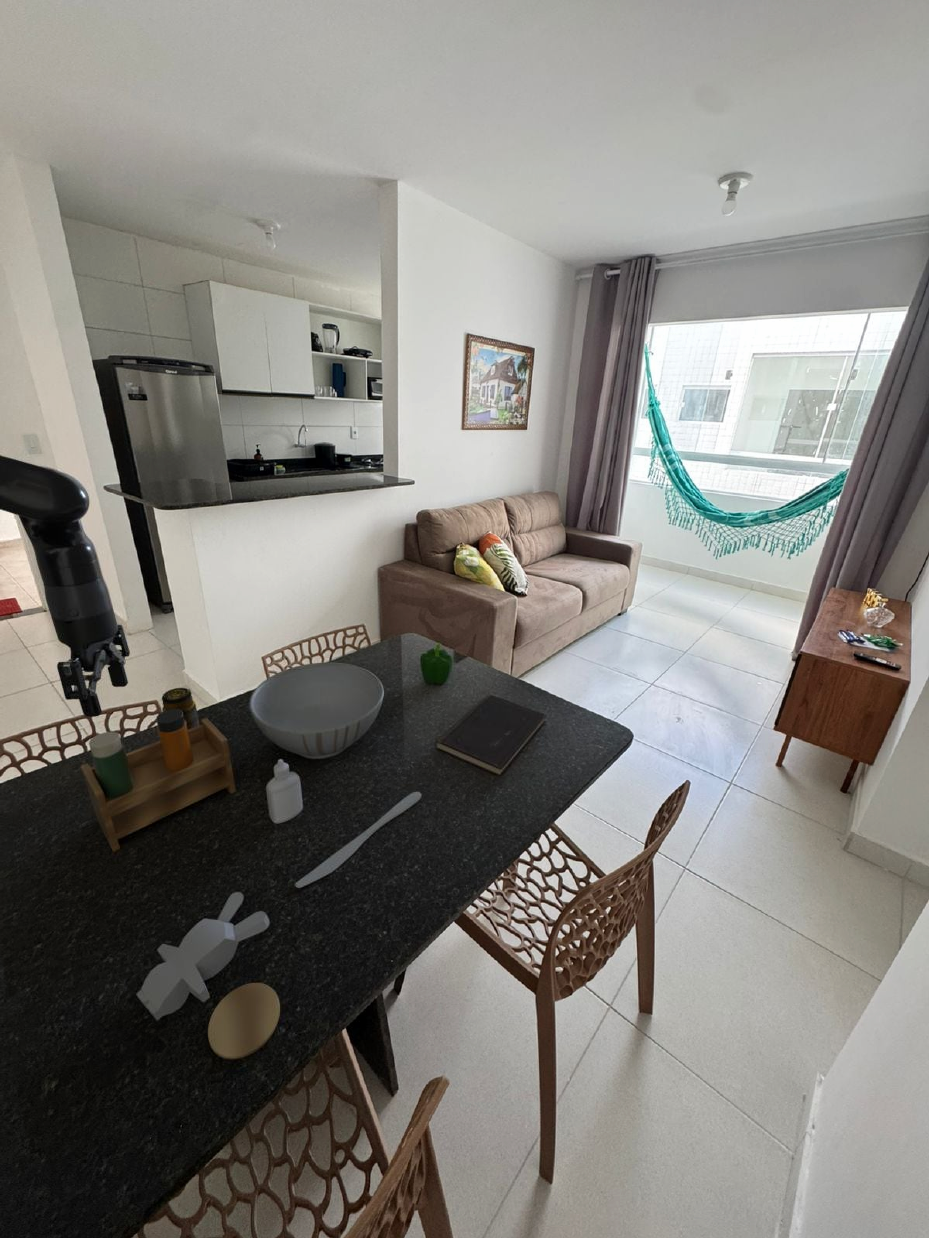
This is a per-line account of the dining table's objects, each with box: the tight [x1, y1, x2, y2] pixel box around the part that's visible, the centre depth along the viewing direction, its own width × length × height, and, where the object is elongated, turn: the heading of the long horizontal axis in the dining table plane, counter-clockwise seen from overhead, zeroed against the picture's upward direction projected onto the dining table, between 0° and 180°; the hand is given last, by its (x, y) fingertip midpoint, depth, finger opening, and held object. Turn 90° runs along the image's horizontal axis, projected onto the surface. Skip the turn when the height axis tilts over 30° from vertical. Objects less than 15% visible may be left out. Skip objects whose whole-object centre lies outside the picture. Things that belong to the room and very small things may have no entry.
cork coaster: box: [207, 982, 281, 1060], centre depth 62 cm, size 8×8×1 cm
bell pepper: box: [419, 642, 453, 685], centre depth 135 cm, size 8×8×10 cm
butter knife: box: [295, 791, 422, 889], centre depth 88 cm, size 1×27×3 cm
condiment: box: [161, 687, 200, 730], centre depth 106 cm, size 7×8×12 cm
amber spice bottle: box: [155, 709, 194, 771], centre depth 89 cm, size 4×4×10 cm
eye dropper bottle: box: [265, 758, 304, 825], centre depth 89 cm, size 4×6×12 cm
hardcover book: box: [435, 693, 547, 778], centre depth 115 cm, size 16×23×2 cm
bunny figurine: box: [136, 891, 270, 1022], centre depth 66 cm, size 10×5×15 cm
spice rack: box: [80, 717, 237, 853], centre depth 90 cm, size 20×9×12 cm, turn 136°
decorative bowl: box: [248, 661, 385, 760], centre depth 109 cm, size 27×27×12 cm
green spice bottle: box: [88, 731, 134, 798], centre depth 82 cm, size 4×4×10 cm
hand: (107, 699), depth 82 cm, fingers open, 8 cm apart
